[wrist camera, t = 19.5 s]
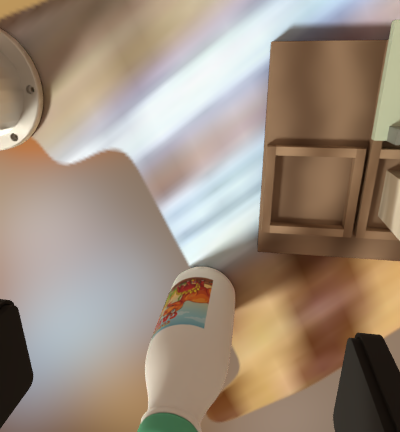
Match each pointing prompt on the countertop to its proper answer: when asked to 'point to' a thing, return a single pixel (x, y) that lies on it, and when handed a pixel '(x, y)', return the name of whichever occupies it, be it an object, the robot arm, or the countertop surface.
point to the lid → (389, 92)
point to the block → (391, 202)
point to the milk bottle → (189, 351)
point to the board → (325, 152)
